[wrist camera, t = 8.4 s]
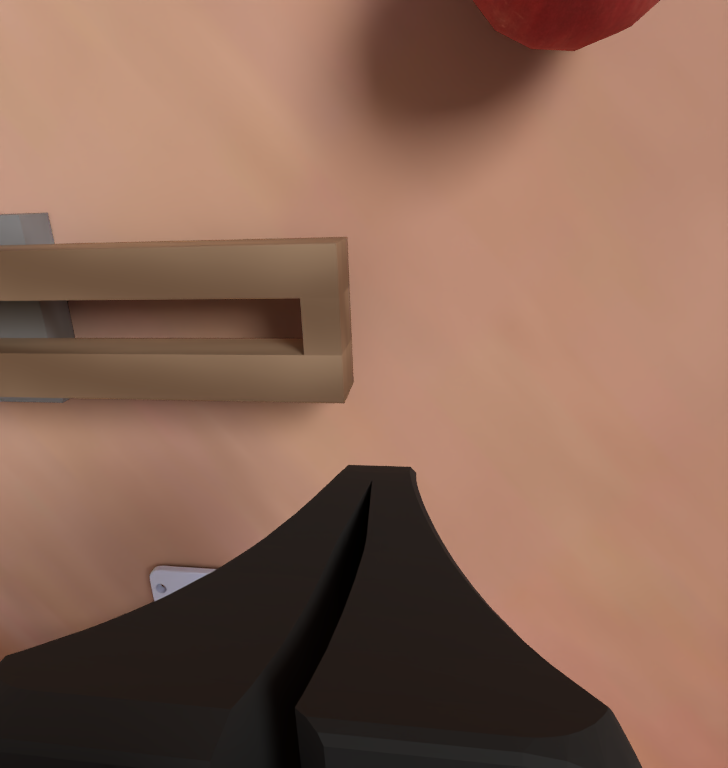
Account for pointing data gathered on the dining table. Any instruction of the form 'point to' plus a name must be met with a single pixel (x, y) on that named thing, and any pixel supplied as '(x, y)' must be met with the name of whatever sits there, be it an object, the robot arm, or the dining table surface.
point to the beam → (170, 355)
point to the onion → (562, 20)
